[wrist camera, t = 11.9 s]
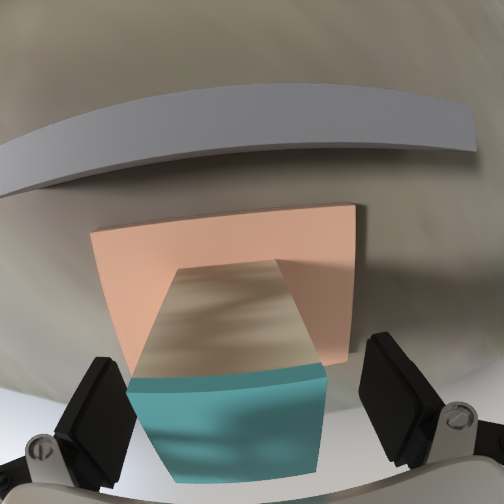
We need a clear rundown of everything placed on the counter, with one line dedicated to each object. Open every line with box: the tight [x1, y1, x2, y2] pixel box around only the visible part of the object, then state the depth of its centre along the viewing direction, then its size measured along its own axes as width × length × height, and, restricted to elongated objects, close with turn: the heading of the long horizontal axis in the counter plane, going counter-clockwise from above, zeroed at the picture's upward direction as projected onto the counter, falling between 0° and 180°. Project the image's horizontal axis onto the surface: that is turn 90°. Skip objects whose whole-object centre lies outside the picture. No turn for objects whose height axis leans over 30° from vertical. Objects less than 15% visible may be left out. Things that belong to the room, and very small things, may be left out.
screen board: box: [0, 83, 477, 198], centre depth 11 cm, size 22×2×6 cm, turn 95°
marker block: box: [126, 259, 327, 484], centre depth 11 cm, size 5×5×9 cm
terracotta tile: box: [90, 203, 356, 375], centre depth 16 cm, size 14×10×1 cm
